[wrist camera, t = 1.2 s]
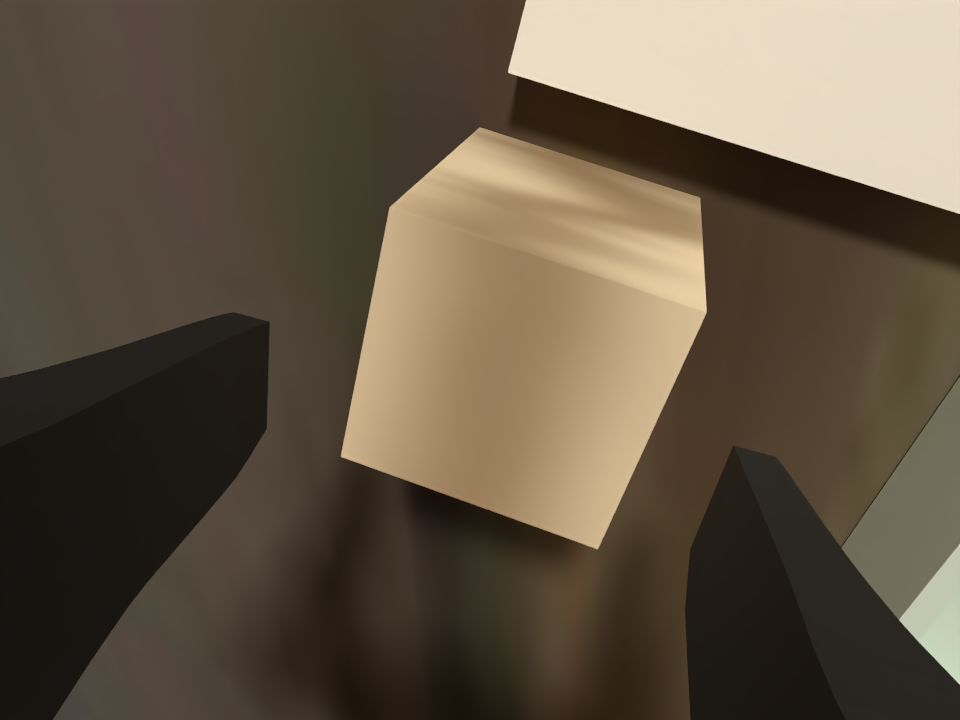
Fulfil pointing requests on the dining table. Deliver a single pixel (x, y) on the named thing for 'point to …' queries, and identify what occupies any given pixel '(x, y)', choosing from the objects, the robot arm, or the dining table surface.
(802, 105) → the crank board
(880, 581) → the tray
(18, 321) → the dining table surface
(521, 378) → the block
